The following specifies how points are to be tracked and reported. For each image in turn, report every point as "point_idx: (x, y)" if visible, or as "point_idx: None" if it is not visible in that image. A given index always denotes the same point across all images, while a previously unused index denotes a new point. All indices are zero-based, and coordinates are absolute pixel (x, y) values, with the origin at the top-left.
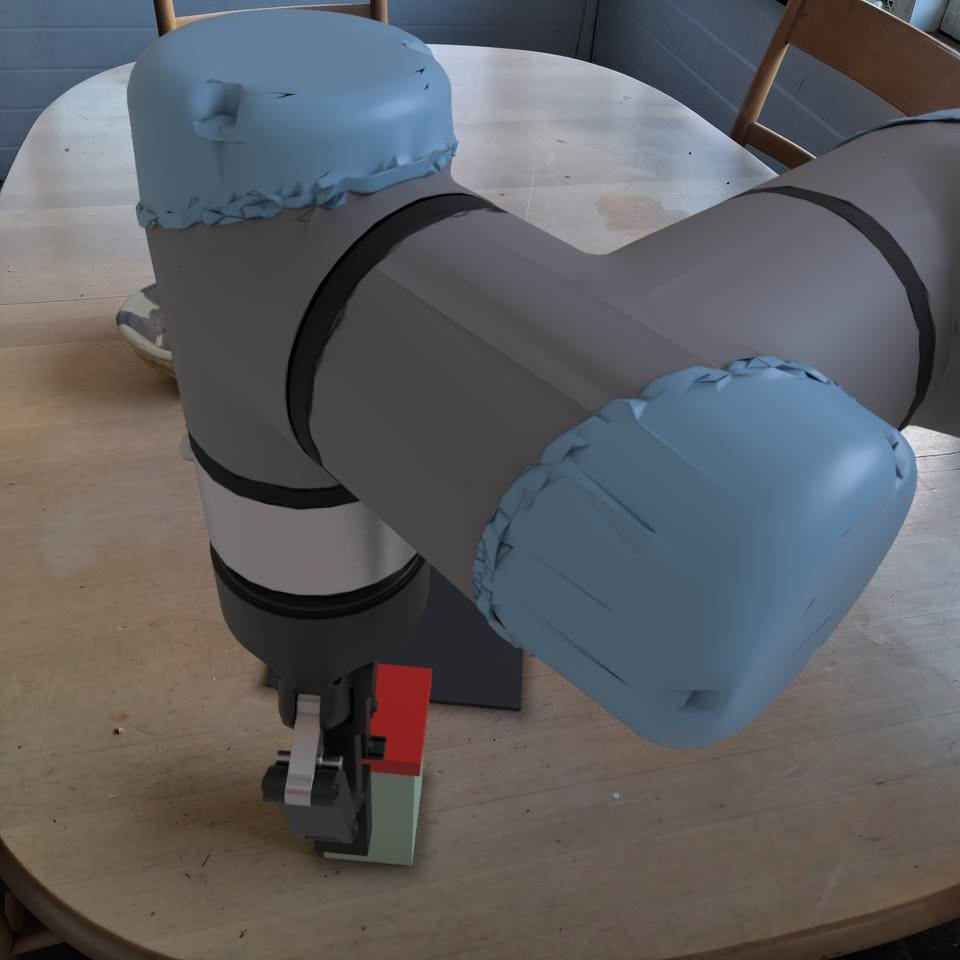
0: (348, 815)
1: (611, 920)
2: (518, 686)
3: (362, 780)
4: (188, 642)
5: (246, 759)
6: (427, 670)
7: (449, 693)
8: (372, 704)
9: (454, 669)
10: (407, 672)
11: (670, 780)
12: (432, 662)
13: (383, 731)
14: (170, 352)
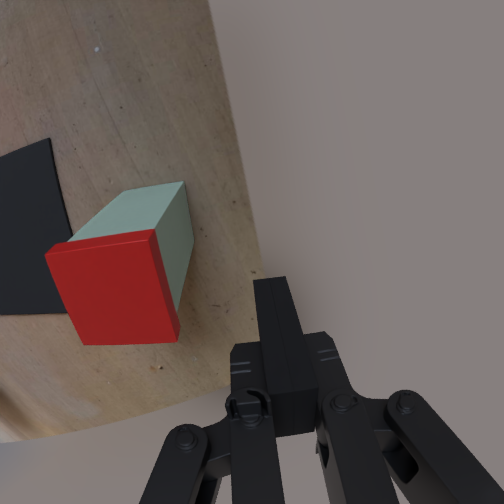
0: (467, 471)
1: (192, 32)
2: (34, 145)
3: (297, 395)
4: (97, 354)
5: None
6: (47, 258)
7: (54, 193)
8: (200, 464)
9: (37, 196)
10: (58, 277)
11: (80, 18)
12: (38, 213)
13: (127, 285)
14: None
